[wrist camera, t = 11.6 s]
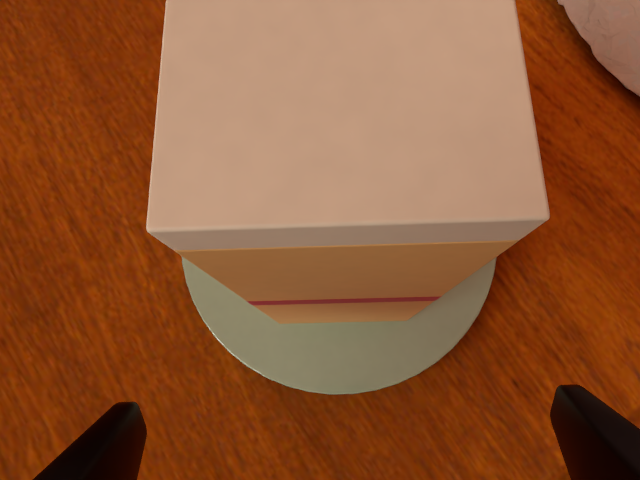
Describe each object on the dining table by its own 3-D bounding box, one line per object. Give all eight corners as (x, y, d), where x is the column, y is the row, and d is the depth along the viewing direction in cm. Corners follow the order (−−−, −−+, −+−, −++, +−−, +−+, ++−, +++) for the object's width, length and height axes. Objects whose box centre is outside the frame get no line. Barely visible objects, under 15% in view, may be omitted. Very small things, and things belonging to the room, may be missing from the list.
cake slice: (408, 321, 18) (555, 220, 5) (277, 324, 18) (142, 233, 6) (396, 154, 19) (486, -195, 7) (278, 159, 20) (178, -174, 8)
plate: (533, 353, 18) (544, 352, 17) (211, 426, 18) (204, 429, 17) (440, 76, 22) (445, 63, 21) (170, 135, 21) (162, 124, 20)
